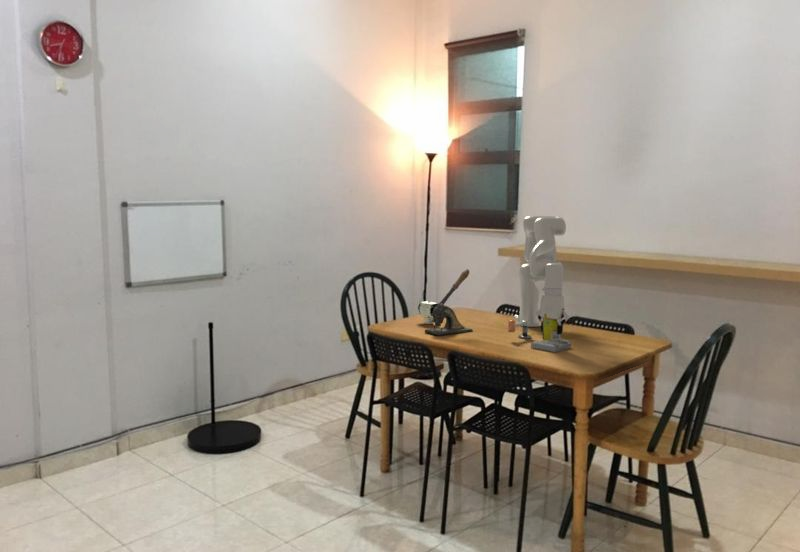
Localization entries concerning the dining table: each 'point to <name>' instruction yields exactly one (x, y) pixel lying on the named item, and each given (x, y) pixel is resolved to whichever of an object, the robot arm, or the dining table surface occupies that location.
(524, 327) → the lever post
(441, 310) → the embossing press
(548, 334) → the crayon box
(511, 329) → the press lever
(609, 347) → the dining table surface
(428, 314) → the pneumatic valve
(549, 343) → the plate
